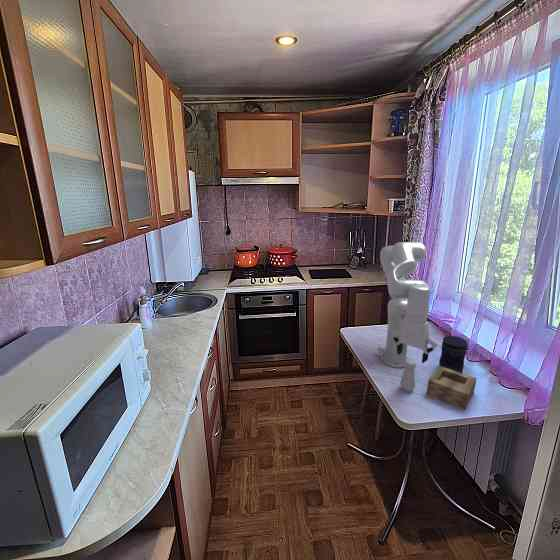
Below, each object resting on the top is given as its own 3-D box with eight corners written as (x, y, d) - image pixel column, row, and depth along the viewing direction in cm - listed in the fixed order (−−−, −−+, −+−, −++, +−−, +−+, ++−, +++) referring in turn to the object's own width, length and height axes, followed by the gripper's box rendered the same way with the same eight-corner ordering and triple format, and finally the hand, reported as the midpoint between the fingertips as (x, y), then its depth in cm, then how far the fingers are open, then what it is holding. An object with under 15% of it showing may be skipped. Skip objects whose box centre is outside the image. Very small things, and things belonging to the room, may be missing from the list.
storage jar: (434, 364, 151) (438, 335, 146) (455, 364, 150) (460, 335, 146) (444, 376, 141) (449, 346, 137) (467, 376, 141) (472, 346, 136)
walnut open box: (426, 395, 129) (428, 379, 127) (437, 379, 139) (439, 365, 137) (464, 410, 120) (467, 394, 118) (473, 393, 130) (476, 378, 128)
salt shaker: (411, 384, 135) (414, 357, 132) (417, 393, 130) (420, 365, 126) (397, 385, 135) (400, 357, 131) (402, 393, 130) (406, 365, 126)
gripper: (390, 314, 126) (386, 353, 130) (436, 326, 115) (431, 368, 119) (398, 309, 131) (394, 347, 136) (443, 320, 120) (437, 361, 124)
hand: (411, 357), depth 127 cm, fingers open, 9 cm apart
